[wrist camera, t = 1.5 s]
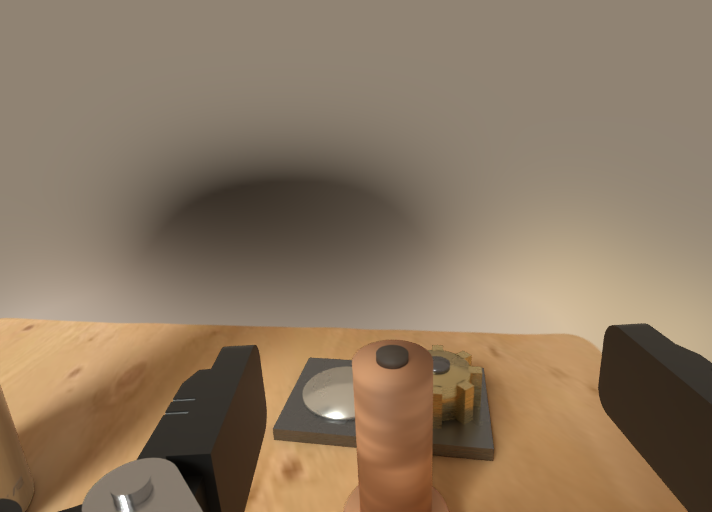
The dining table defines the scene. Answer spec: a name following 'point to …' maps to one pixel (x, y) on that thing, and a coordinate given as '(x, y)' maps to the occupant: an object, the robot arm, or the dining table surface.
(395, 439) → the brown round post
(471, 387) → the sun gear
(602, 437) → the dining table surface
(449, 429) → the carrier plate
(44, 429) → the dining table surface
